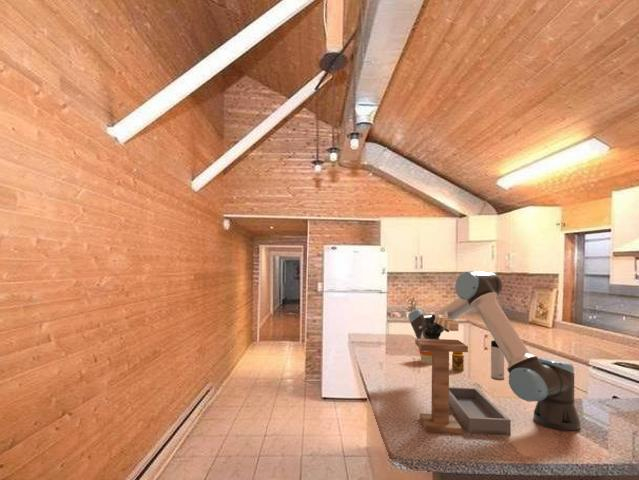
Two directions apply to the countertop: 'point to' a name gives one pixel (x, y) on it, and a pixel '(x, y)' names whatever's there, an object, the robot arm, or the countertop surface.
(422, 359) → the reusable coffee cup
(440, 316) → the ash bar
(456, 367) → the condiment
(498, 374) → the travel mug
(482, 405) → the tray
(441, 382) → the shelf stand
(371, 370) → the countertop surface
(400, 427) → the countertop surface
